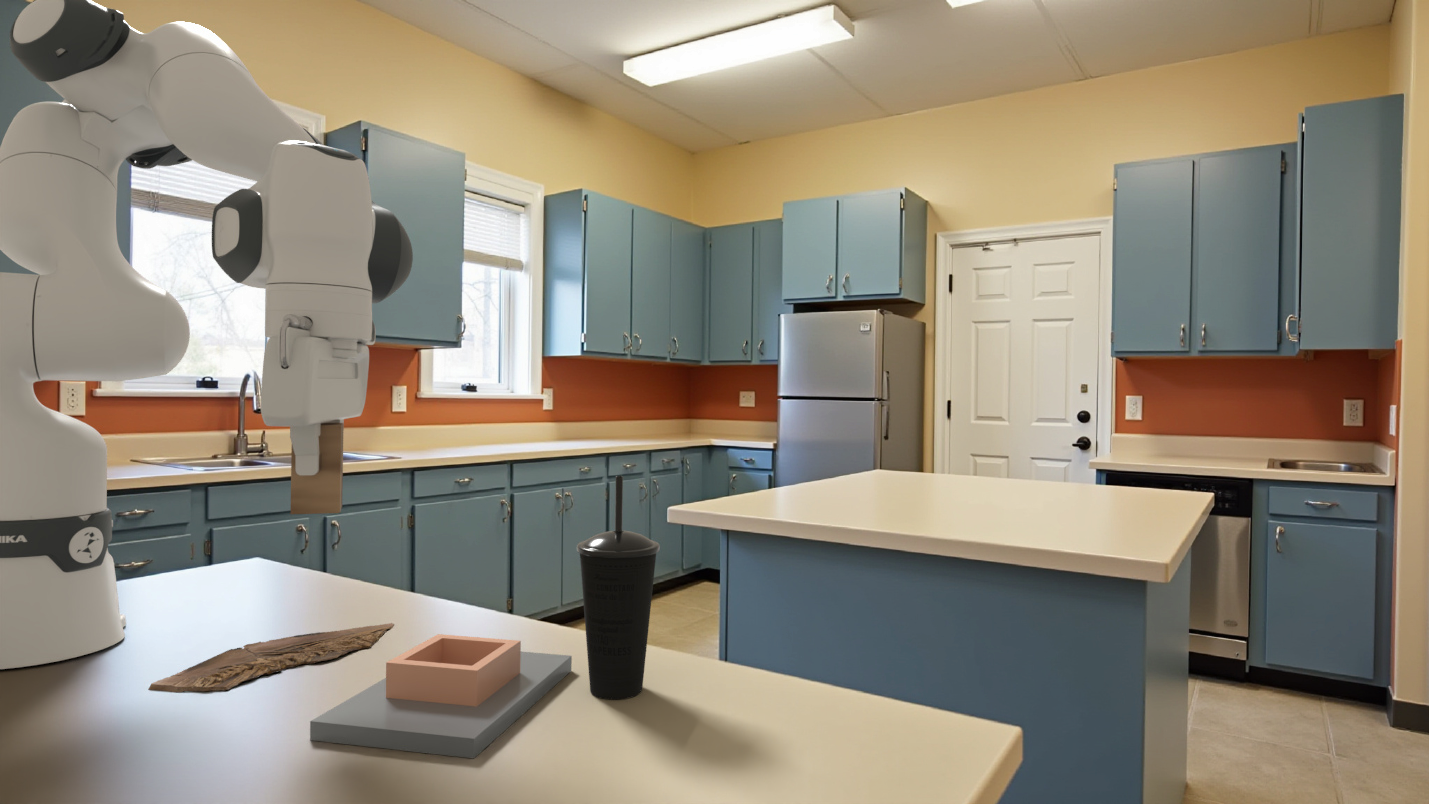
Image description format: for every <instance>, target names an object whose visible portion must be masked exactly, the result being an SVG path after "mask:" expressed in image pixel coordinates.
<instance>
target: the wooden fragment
mask: <svg viewBox="0 0 1429 804" xmlns="http://www.w3.org/2000/svg"><path fill="white" fill-rule="evenodd" d="M394 626H395V623H393V622H391V623H385V624H378V625H377V624H376V625H369V626H368V625H367V626H362V627H361V626H360V627H354V628H348V629H341V630H334V631H333V630H331V631H322V632H319V631H317V632H314V633H312V632H311V633H305V634H298V635H293V636H287V637H283V638H276V639H269V640H267V641H258V642H254V643H248V644H245V645H243V646H242V647H237V648H230V649H228V650H226V651H224V652H221V653H219V654H217V655H214V656H213V657H210V658H209V659H207V660H204V661H202V662H198V663H197V664H195V665H193V666H190V667H188V668H186V669H183V670H181V671H180V672H177V673H175V674H172V675H170V676H169V677H167V676H166V677H164V678H163V679H159V680H156V681H155V682H152V683H151V684H150V686H149V687H148V691H159V692H160V691H162V692H170V693H184V692H183V691H192V692H211V691H212V692H215V691H227V690H231V689H232V688H233V687H238V686H239V685H240V684H242V683H243V682H247V681H251V680H254V679H257V678H259V677H260V676H263V675H265V676H268V675H271V674H274V673H277V672H281V671H283V670H286V669H289V668H296V667H298V666H300V665H313V664H315V663H318V662H322V661H324V662H325V661H328V660H333V659H338V658H340V657H341V656H344V655H345V654H348V653H349V652H353V651H357V650H361V649H362V650H363V649H369V648H371V647H373V646H375V643H378V641H379V640H380V639H381V638H382V636H383V635H384V634H385V633H386V632H387V630H391V629H394Z"/></svg>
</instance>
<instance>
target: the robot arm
mask: <svg viewBox="0 0 1429 804" xmlns="http://www.w3.org/2000/svg"><path fill="white" fill-rule="evenodd" d="M9 45H10V50H11V52H12V54H13V55H14V56H15V58H16V59H17V60H18V62H19V63H20V64H21V65H22V66H23V67H24V68H25V69H26V70H27V71H28V72H29V73H30V74H31V75H32V76H33V77H35V78H36V79H37V80H38V81H40V82H45V84H47V85H48V86H49V87H50V88H51V89H52V90H53V91H55V92H56V93H57V94H58V95H59V96H60V97H61V98H63V100H62V101H61V102H60V101H39V102H34V103H32V104H28V105H27V106H25V107H23V108H21V109H20V110H19V111H18V112H17V113H16V115H15V116H14V117H13V118H12V121H11V123H10V124H9V126H8V128H7V130H6V132H5V133H4V137H3V138H2V142H1V143H0V251H1V252H2V253H3V254H4V255H6V257H8V258H9V259H10V260H11V261H13V262H14V263H16V264H17V265H19V266H21V267H22V268H24V269H26V270H28V271H31V272H33V273H35V274H31V273H19V272H18V273H16V272H5V271H3V272H2V271H0V670H5V669H6V670H7V669H15V668H24V667H31V666H32V667H33V666H38V665H44V664H49V663H54V662H60V661H65V660H69V659H75V658H77V657H82V656H84V655H88V654H92V653H95V652H99V651H101V650H104V649H107V648H109V647H112V646H114V645H115V644H117V643H119V642H121V641H122V640H123V639H124V638H125V636H126V633H125V631H124V627H125V626H126V625H127V619H126V615H125V614H121V610H120V602H119V595H118V594H119V593H118V586H117V584H118V583H117V577H116V570H115V569H116V568H115V562H114V561H115V560H114V558H113V556H112V555H111V554H110V552H109V548H108V547H109V544H110V543H111V542H112V540H113V528H114V520H113V519H112V518H113V517H112V516H113V515H112V510H111V509H110V508H109V507H108V504H107V503H108V502H107V501H108V498H107V495H108V493H107V492H108V491H107V490H108V483H107V482H108V446H107V444H106V443H107V442H106V441H105V439H104V437H103V436H102V434H101V433H100V432H99V431H98V430H97V429H96V428H94V427H93V426H91V425H89V424H88V423H86V422H84V421H81V420H80V419H77V418H75V417H73V416H70V415H67V414H66V413H62V412H60V411H57V410H55V409H51V408H49V407H47V406H45V405H43V404H42V403H41V402H40V401H39V399H38V398H37V396H36V394H35V390H34V384H35V383H36V382H42V381H65V382H66V381H71V382H73V381H74V382H78V381H79V382H125V381H133V380H139V379H145V378H152V377H159V376H164V375H165V376H166V375H167V374H168V373H170V372H172V371H173V370H174V368H176V367H177V366H178V364H179V363H181V361H182V359H183V358H184V356H185V354H186V352H187V349H188V347H189V344H190V343H189V342H190V336H191V335H190V333H191V331H190V324H189V320H188V317H187V314H186V312H185V310H184V309H183V306H182V305H181V304H180V303H179V301H178V300H177V299H176V298H175V297H174V296H173V294H171V293H170V292H169V291H168V290H165V289H164V288H162V287H160V286H157V284H154V283H153V282H151V281H149V280H148V279H146V277H144V276H143V275H142V274H140V273H139V272H138V271H137V270H136V269H135V268H134V267H133V266H132V265H131V264H130V263H129V261H128V260H127V259H126V258H125V257H124V255H123V253H122V251H121V248H120V245H119V242H118V234H117V233H118V232H117V201H118V200H117V199H118V175H119V169H120V167H121V166H122V163H123V162H124V161H126V162H127V163H128V164H129V165H131V166H133V167H135V168H140V169H145V170H146V169H147V170H149V169H153V168H155V167H157V166H160V167H172V166H174V165H175V166H176V165H181V164H184V163H189V162H192V161H194V162H195V163H198V164H199V165H202V166H203V167H206V168H209V169H212V170H214V171H219V172H221V173H225V174H229V175H233V176H236V177H239V178H244V179H247V180H252V181H255V184H253V185H252V186H251V187H249V188H240V189H238V190H237V191H236V190H235V191H234V192H233V193H231V194H229V195H228V196H226V197H225V198H224V199H223V200H221V201H220V202H219V203H217V205H216V206H215V207H214V209H213V213H212V219H211V221H212V222H211V251H212V252H211V253H212V257H213V260H214V261H215V263H217V264H218V266H219V268H220V269H221V270H222V271H223V272H224V273H225V274H226V276H228V277H229V278H230V279H231V280H233V281H234V282H235V283H236V284H242V285H245V286H247V287H250V288H251V287H252V288H257V289H263V290H264V289H265V300H264V301H265V305H264V306H265V310H264V312H265V313H264V314H265V315H264V317H265V318H264V320H265V322H264V323H265V324H264V325H265V326H264V336H265V337H266V338H268V340H267V342H266V343H265V348H264V353H263V354H264V355H263V362H262V378H261V391H260V413H261V417H262V420H263V423H264V425H265V426H267V427H287V428H288V427H289V437H290V442H291V447H292V446H293V449H294V453H295V455H296V473H297V474H298V475H315V474H317V473H319V472H320V471H321V470H322V465H321V463H322V454H320V453H319V437H318V436H320V427H321V423H344V421H345V420H346V419H350V418H351V419H352V418H357V417H361V416H362V413H363V410H364V408H365V404H366V398H367V392H368V391H367V389H368V381H369V380H368V379H369V367H370V366H369V365H370V349H369V346H372V345H374V344H375V343H376V334H377V333H376V329H377V328H376V325H375V323H374V321H373V304H379V303H381V302H382V301H384V300H386V299H387V298H389V297H391V296H392V295H393V294H395V292H397V290H399V289H400V288H401V287H402V285H404V284H405V282H406V281H407V280H408V278H409V276H410V274H411V270H412V268H413V262H414V261H413V259H414V258H413V257H414V256H413V247H412V243H411V239H410V237H409V235H408V233H407V231H406V229H405V228H404V226H403V225H402V222H401V221H400V220H399V219H398V217H397V216H396V215H395V214H394V213H393V212H392V211H391V210H389V209H386V208H384V207H381V206H380V205H378V204H376V202H375V201H373V200H372V192H371V186H370V185H371V184H370V180H369V179H370V178H369V174H368V170H367V167H366V163H365V162H364V161H363V160H362V159H361V158H360V157H359V156H358V155H356V154H355V153H353V152H350V151H347V150H345V149H340V148H336V147H332V146H327V145H324V144H323V143H322V142H321V141H320V140H319V139H318V138H316V137H315V136H314V135H313V134H311V133H310V132H309V131H308V130H307V129H306V128H304V127H302V126H301V125H300V124H299V123H298V122H297V121H295V119H293V118H292V117H291V116H289V115H288V113H286V112H285V111H284V110H283V109H281V107H279V105H277V103H275V102H274V101H273V100H272V99H271V97H269V96H268V95H267V94H266V93H265V92H264V90H263V89H262V88H261V87H260V86H259V85H258V83H257V82H256V81H255V78H254V77H253V75H252V74H251V71H249V69H248V67H247V66H246V65H245V64H244V62H243V61H242V60H241V59H240V57H239V56H238V55H237V54H236V52H235V51H234V50H233V49H232V48H230V46H229V45H228V44H227V43H225V42H224V40H222V39H221V38H220V37H219V36H218V35H216V34H215V33H213V32H212V31H211V30H209V29H207V28H205V27H203V26H201V25H200V24H195V23H192V22H185V21H174V22H169V23H164V24H162V25H160V26H157V27H156V28H154V29H153V30H151V31H149V32H146V33H144V32H140V31H138V30H137V29H135V28H133V27H131V26H130V25H129V23H127V22H126V20H125V15H124V13H123V12H121V11H119V10H117V9H114V8H110V7H104V6H103V5H100V4H98V3H96V2H95V1H93V0H33V1H32V2H30V3H28V4H27V5H26V7H24V8H23V9H22V10H21V12H20V13H19V14H18V15H17V16H16V18H15V20H14V21H13V23H12V25H11V28H10V31H9ZM344 424H345V423H344Z"/></svg>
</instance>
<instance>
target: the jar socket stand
mask: <svg viewBox="0 0 1429 804" xmlns="http://www.w3.org/2000/svg"><path fill="white" fill-rule="evenodd" d="M521 646H522V645H521V640H517V639H516V640H515V639H503V638H492V637H491V638H489V637H478V636H466V635H453V634H442V633H441V634H440V633H439V634H436V635H434V636H432V637H431V638H428V639H426V640H425V641H423V642H422V643H418V645H416V646H414V647H412V648H411V649H409V650H406V651H404V652H403V653H401V654H399V655H397V656H395V657H394V658H391V659H390V660H388V661H386V662H385V678H383V679H381V680H379V681H378V682H376V683H374V684H372V685H370V686H369V687H367V688H365V689H364V690H362V691H360V692H358V693H357V694H355V695H354V696H352V697H350V698H348V699H346V700H345V701H343V702H340V704H338V705H336V706H334V707H333V708H331V709H329V710H327V711H326V712H324V713H322V714H320V715H318V716H317V717H315V718H313V719H312V720H310V721H309V722H310V725H309V726H310V728H309V730H310V732H309V736H310V737H309V739H310V741H316V742H324V743H325V742H326V743H331V744H332V743H333V744H342V745H343V744H344V745H351V746H352V745H353V746H361V747H368V748H376V749H377V748H378V749H387V750H394V751H395V750H396V751H404V752H405V751H406V752H413V753H421V754H422V753H423V754H432V755H438V756H450V757H458V758H468V759H475V758H476V757H477V756H478V755H479V754H481V752H483V751H484V750H485V749H486V748H487V747H489V745H491V744H492V743H493V742H494V741H496V739H497V738H498V737H500V736H501V735H502V734H503V733H504V732H505V731H506V730H507V729H508V728H509V727H511V725H513V724H514V723H515V722H516V721H517V720H518V719H519V718H520V717H522V716H523V715H524V714H525V713H526V712H527V711H528V710H530V709H531V708H532V707H533V706H534V705H535V704H536V703H538V702H539V700H540V699H541V698H543V697H544V696H545V695H546V694H548V693H549V692H550V691H551V690H552V689H553V688H554V687H555V686H556V685H557V684H559V683H560V682H561V680H563V679H564V678H565V677H566V676H567V675H568V674H570V673H571V672H572V665H573V664H572V660H573V659H572V656H573V655H570V654H569V655H568V654H567V655H566V654H558V653H557V654H555V653H546V652H545V653H543V652H534V651H533V652H531V651H521V650H522V649H521Z"/></svg>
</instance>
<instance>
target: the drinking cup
mask: <svg viewBox="0 0 1429 804" xmlns="http://www.w3.org/2000/svg"><path fill="white" fill-rule="evenodd" d="M623 492H624V476H623V475H615V492H614V493H615V495H614V497H615V500H614V501H615V502H614V503H615V504H614V505H615V506H614V508H615V509H614V530H609V531H604V532H600V533H598V534H597V533H596V534H595V535H593V536H591V537H589V538H587V539H586V540H582V541H580V542H579V543H577V545H576V551H577V553H579V558H580V559H579V561H580V571H581V585H582V597H583V598H582V599H583V612H584V613H583V614H584V624H585V625H584V627H585V639H586V653H587V663H588V664H587V665H588V679H589V680H588V681H589V691H590V693H591V695H592V696H594V697H596V698H599V699H604V700H625V699H630V698H633V697H637V695H640V694H641V693H642V691H643V685H644V674H645V665H646V657H647V655H646V654H647V647H648V646H647V645H648V635H649V626H650V616H651V607H652V600H653V599H652V598H653V587H654V578H655V569H656V559H657V553H658V552H659V551H660V547H661V546H660V543H659V542H657V541H655V540H652V539H650V538H648V537H647V536H645V535H643V534H640V533H638V532H634V531H629V530H623V514H624V513H623V505H624V504H623V503H624V502H623V499H624V498H623V497H624V496H623V495H624V493H623Z"/></svg>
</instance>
